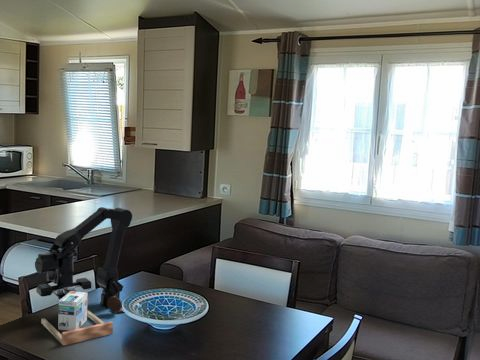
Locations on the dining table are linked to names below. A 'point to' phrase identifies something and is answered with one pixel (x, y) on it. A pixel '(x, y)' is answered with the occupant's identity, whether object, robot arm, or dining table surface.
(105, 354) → the dining table surface
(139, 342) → the dining table surface
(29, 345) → the dining table surface
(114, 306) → the dark brown rounded lump
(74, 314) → the light bulb box
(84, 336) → the frame
